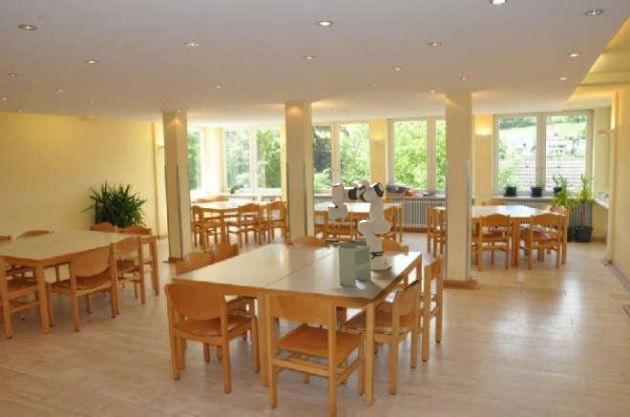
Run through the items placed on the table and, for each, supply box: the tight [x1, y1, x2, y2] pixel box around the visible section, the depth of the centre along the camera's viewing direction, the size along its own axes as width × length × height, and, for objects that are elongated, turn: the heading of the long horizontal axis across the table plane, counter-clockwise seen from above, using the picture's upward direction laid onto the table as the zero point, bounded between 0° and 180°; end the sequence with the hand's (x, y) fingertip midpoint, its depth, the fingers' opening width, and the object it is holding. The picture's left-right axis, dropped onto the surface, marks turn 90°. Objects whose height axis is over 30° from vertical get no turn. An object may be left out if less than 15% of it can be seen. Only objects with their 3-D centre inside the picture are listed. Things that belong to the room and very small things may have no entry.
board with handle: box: [324, 238, 353, 247], centre depth 368 cm, size 10×20×3 cm, turn 49°
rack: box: [337, 236, 372, 287], centre depth 361 cm, size 20×13×31 cm, turn 139°
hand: (338, 223), depth 383 cm, fingers open, 8 cm apart
